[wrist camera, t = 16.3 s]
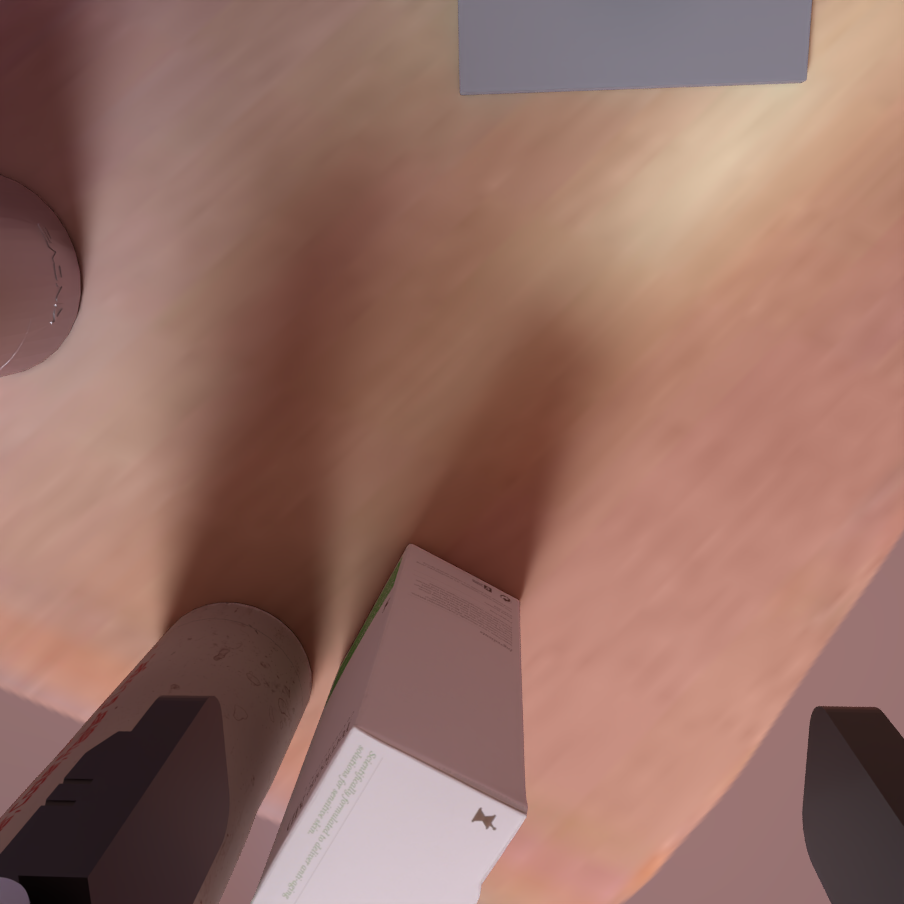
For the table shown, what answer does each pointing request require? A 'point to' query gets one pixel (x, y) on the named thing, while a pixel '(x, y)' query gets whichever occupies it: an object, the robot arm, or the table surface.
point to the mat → (629, 44)
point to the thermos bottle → (242, 704)
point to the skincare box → (411, 751)
